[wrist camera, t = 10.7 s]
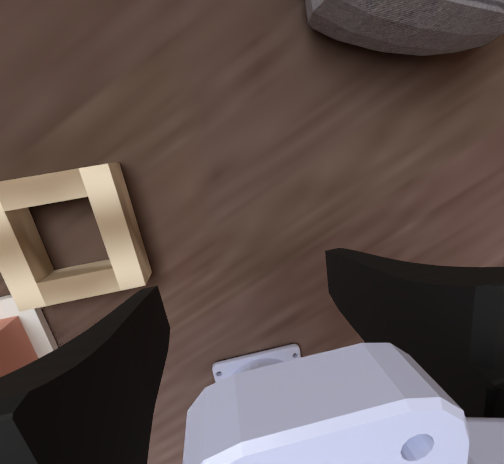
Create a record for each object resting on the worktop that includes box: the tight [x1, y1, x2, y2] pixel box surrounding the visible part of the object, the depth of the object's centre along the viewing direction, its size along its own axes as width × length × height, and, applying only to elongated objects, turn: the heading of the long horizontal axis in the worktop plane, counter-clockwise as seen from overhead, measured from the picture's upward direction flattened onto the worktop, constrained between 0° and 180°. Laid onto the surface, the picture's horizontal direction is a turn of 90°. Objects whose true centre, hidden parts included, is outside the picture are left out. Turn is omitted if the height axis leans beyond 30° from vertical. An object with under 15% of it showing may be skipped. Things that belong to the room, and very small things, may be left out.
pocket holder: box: [0, 162, 152, 312], centre depth 19 cm, size 8×8×2 cm
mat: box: [0, 295, 58, 358], centre depth 21 cm, size 7×6×1 cm
